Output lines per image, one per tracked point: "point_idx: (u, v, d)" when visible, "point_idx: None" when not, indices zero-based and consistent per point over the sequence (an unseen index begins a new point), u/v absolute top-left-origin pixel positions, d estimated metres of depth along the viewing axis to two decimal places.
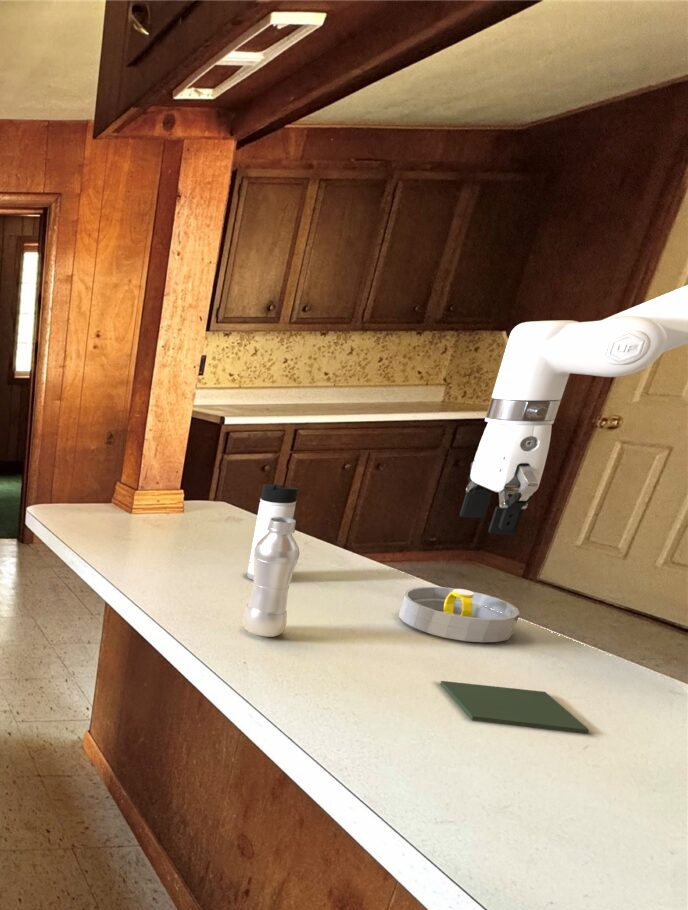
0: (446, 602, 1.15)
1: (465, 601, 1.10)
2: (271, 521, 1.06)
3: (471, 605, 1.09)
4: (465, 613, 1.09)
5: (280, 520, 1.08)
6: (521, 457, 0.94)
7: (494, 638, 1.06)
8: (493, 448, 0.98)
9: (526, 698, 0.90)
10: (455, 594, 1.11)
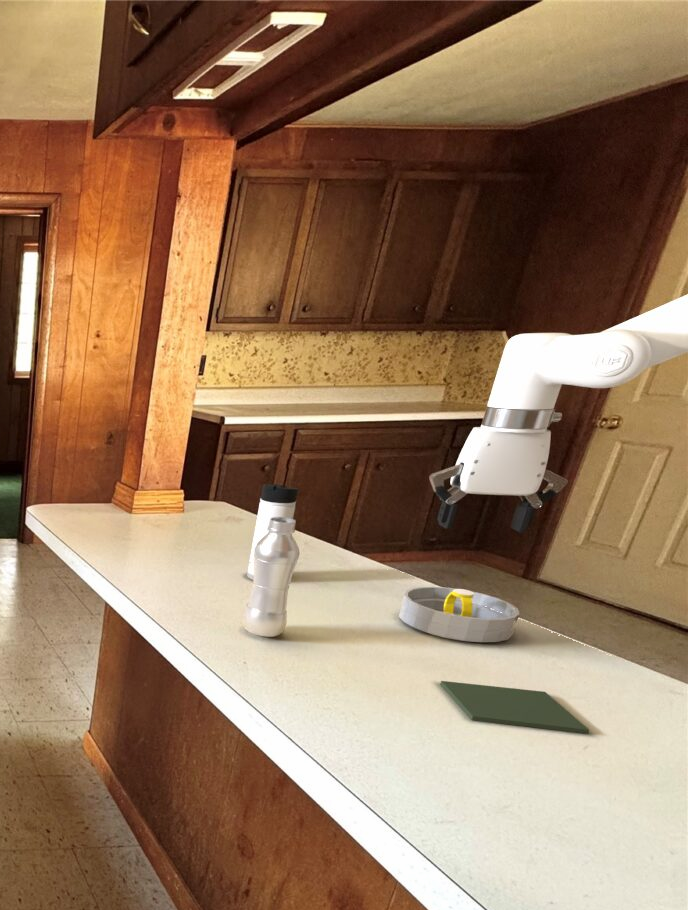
0: (446, 602, 1.15)
1: (465, 601, 1.10)
2: (271, 521, 1.06)
3: (471, 605, 1.09)
4: (465, 613, 1.09)
5: (280, 520, 1.08)
6: None
7: (494, 638, 1.06)
8: (521, 457, 1.00)
9: (526, 698, 0.90)
10: (455, 594, 1.11)
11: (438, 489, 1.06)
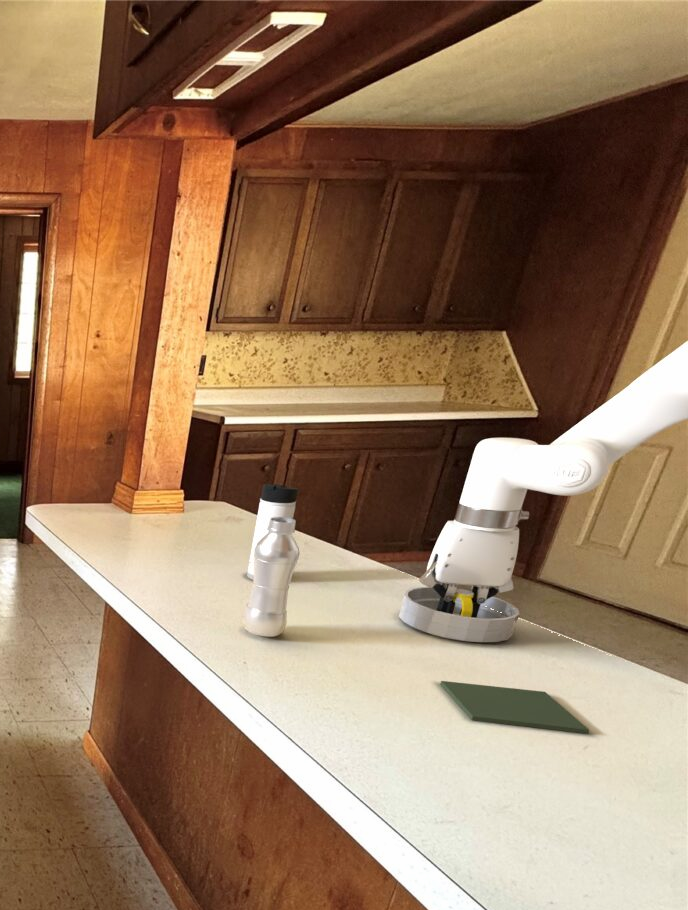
0: None
1: (465, 601, 1.10)
2: (271, 521, 1.06)
3: (471, 605, 1.09)
4: (465, 613, 1.09)
5: (280, 520, 1.08)
6: None
7: (494, 638, 1.06)
8: (492, 552, 1.06)
9: (526, 698, 0.90)
10: (455, 594, 1.11)
11: (436, 588, 1.11)
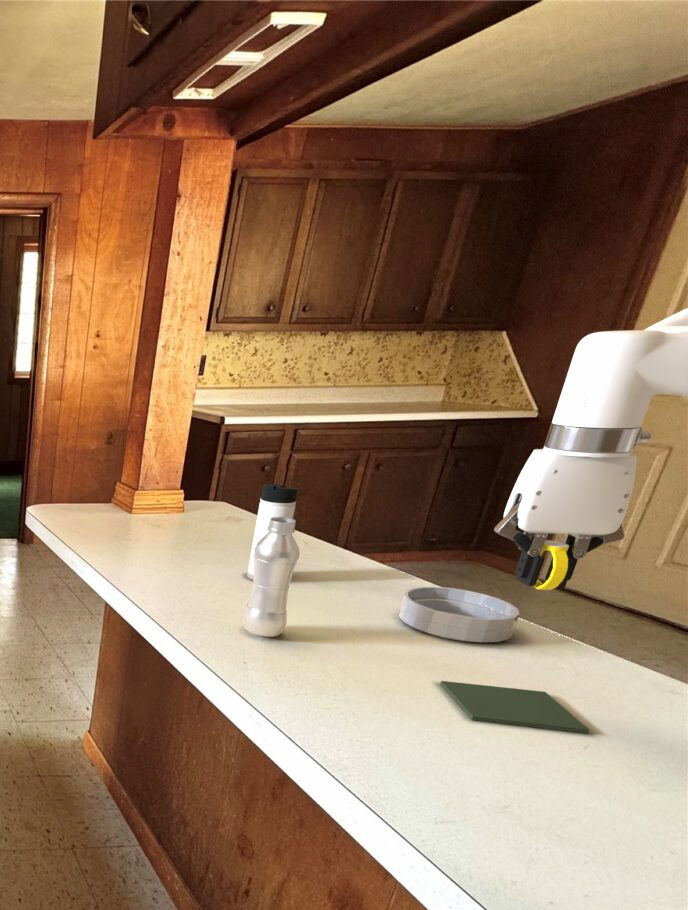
0: None
1: (558, 555, 0.83)
2: (271, 521, 1.06)
3: (566, 560, 0.82)
4: (557, 571, 0.83)
5: (280, 520, 1.08)
6: None
7: (494, 638, 1.06)
8: (598, 487, 0.79)
9: (526, 698, 0.90)
10: (543, 546, 0.84)
11: (517, 539, 0.85)
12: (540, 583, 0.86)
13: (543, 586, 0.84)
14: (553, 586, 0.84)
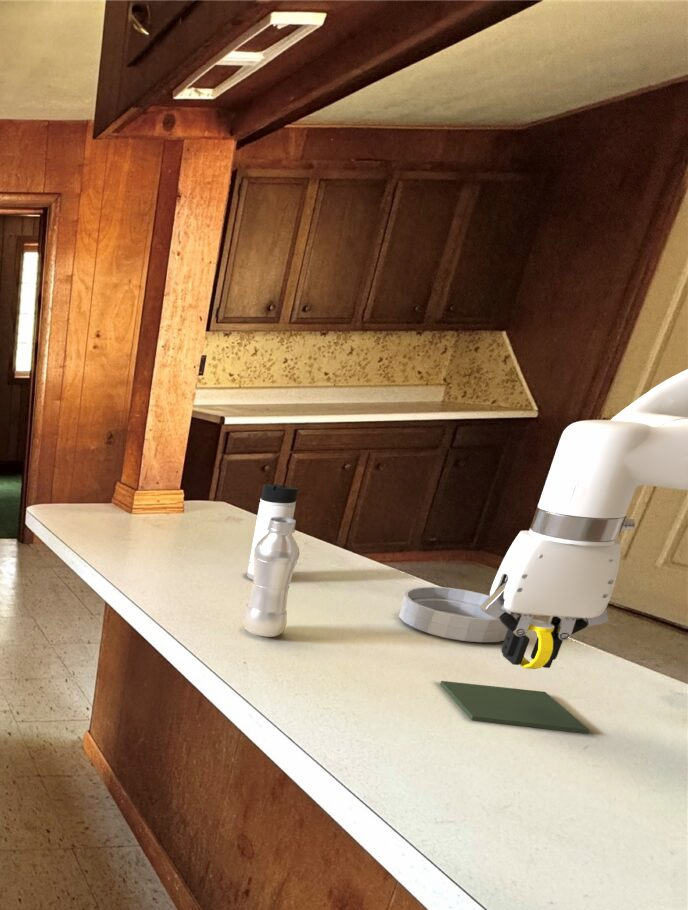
0: None
1: (544, 636, 0.83)
2: (271, 521, 1.06)
3: (551, 642, 0.83)
4: (542, 652, 0.83)
5: (280, 520, 1.08)
6: None
7: (494, 638, 1.06)
8: (583, 573, 0.79)
9: (526, 698, 0.90)
10: (529, 626, 0.84)
11: (503, 619, 0.85)
12: (526, 661, 0.87)
13: (528, 666, 0.85)
14: (538, 666, 0.84)
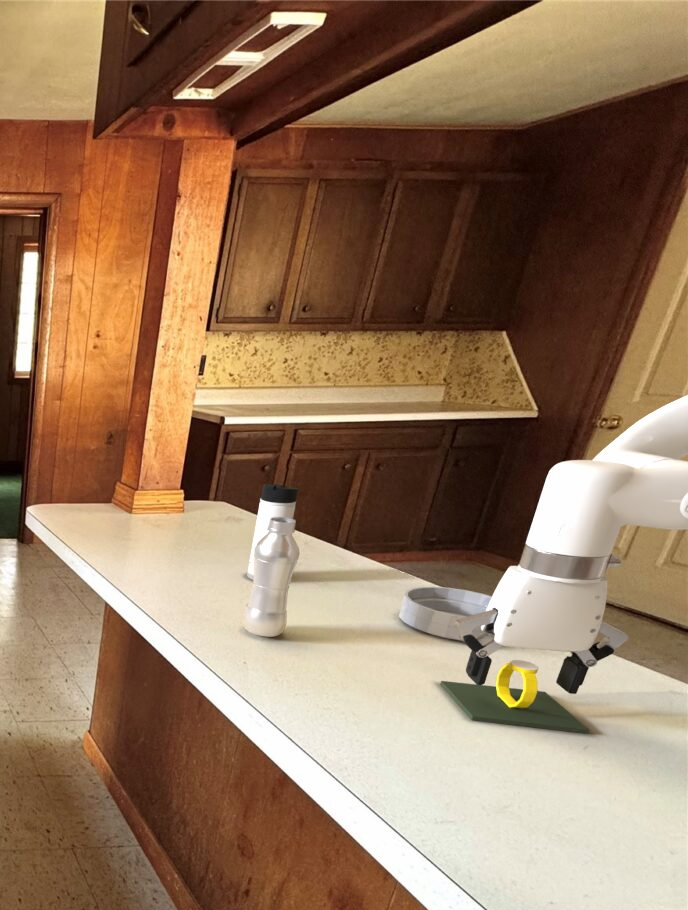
0: (500, 674, 0.90)
1: (528, 677, 0.85)
2: (271, 521, 1.06)
3: (535, 683, 0.85)
4: (527, 693, 0.85)
5: (280, 520, 1.08)
6: None
7: None
8: (571, 609, 0.81)
9: None
10: (514, 668, 0.87)
11: (466, 639, 0.87)
12: (512, 700, 0.89)
13: (514, 706, 0.87)
14: (524, 706, 0.86)
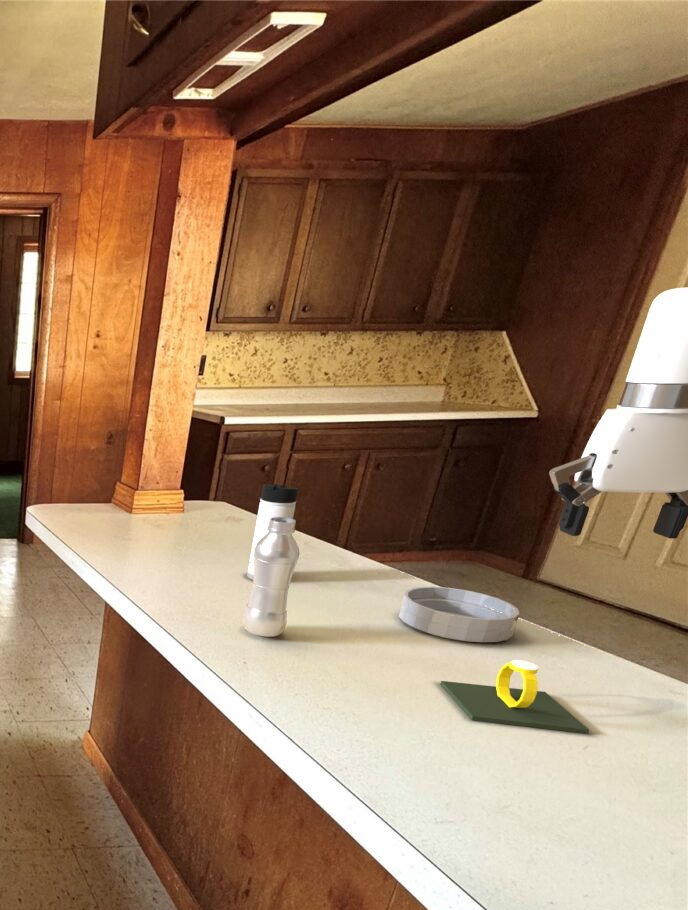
0: (500, 674, 0.90)
1: (528, 677, 0.85)
2: (271, 521, 1.06)
3: (535, 683, 0.85)
4: (527, 693, 0.85)
5: (280, 520, 1.08)
6: None
7: (494, 638, 1.06)
8: (676, 444, 0.79)
9: None
10: (514, 668, 0.87)
11: (562, 487, 0.85)
12: (512, 700, 0.89)
13: (514, 706, 0.87)
14: (524, 706, 0.86)
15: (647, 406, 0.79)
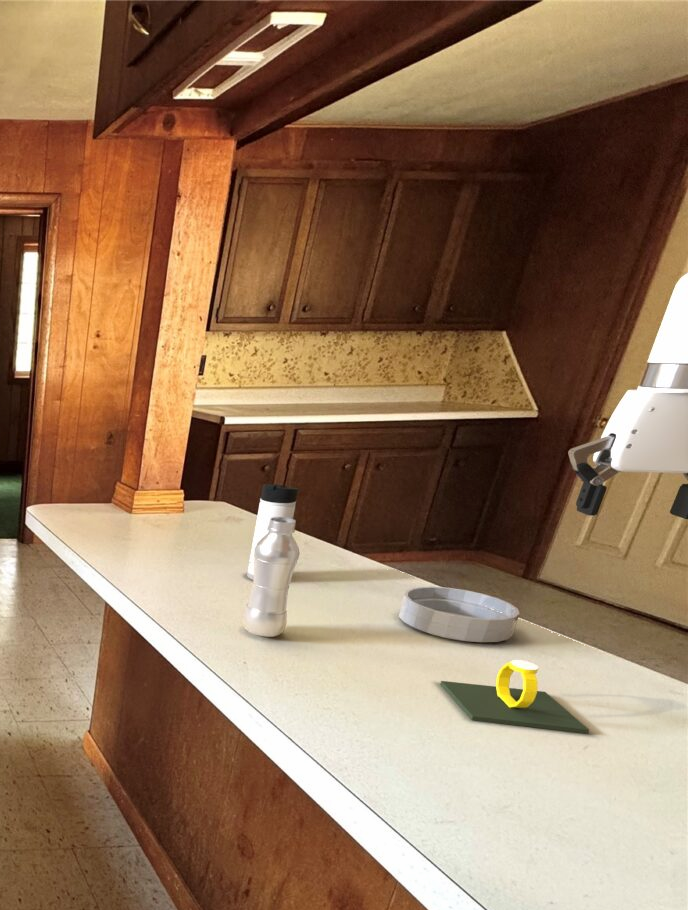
0: (500, 674, 0.90)
1: (528, 677, 0.85)
2: (271, 521, 1.06)
3: (535, 683, 0.85)
4: (527, 693, 0.85)
5: (280, 520, 1.08)
6: None
7: (494, 638, 1.06)
8: None
9: None
10: (514, 668, 0.87)
11: (581, 467, 0.86)
12: (512, 700, 0.89)
13: (514, 706, 0.87)
14: (524, 706, 0.86)
15: (668, 386, 0.80)
